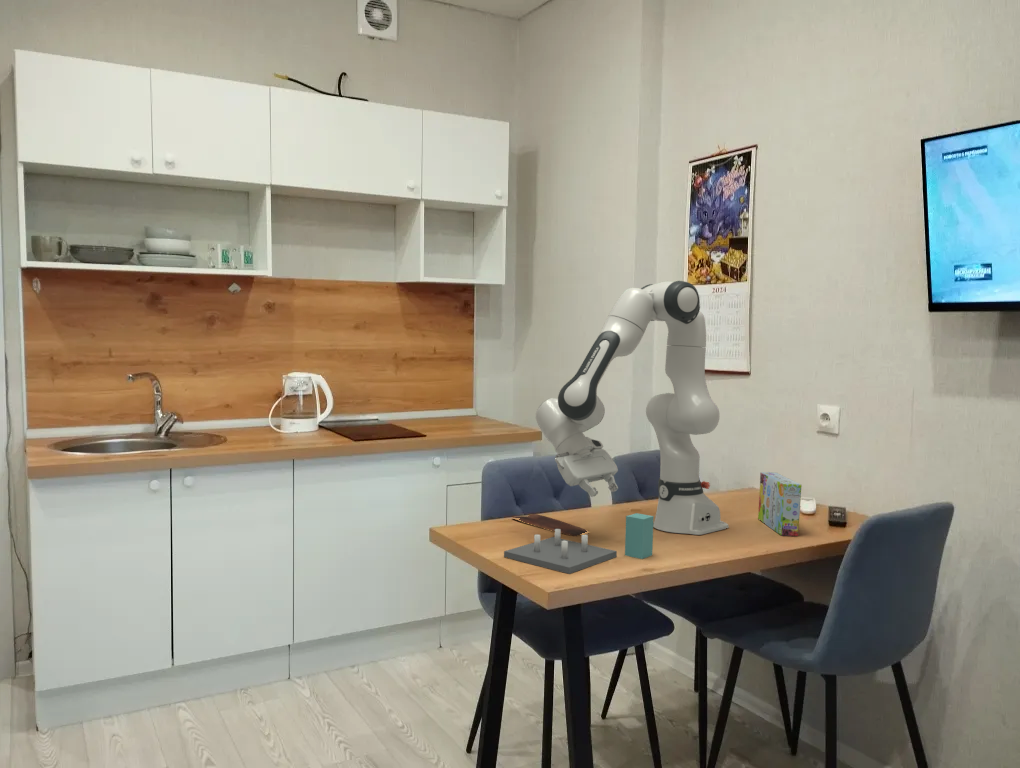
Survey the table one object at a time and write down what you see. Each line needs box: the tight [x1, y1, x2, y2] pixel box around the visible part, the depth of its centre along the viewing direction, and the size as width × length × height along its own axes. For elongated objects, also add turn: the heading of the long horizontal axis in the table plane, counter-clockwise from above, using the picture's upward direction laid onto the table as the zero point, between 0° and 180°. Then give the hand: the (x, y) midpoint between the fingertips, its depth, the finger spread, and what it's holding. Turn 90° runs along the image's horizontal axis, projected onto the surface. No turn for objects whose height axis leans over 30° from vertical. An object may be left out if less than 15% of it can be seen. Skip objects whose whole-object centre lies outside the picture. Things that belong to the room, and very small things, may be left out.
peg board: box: [503, 529, 618, 575], centre depth 196 cm, size 20×20×6 cm
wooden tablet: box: [512, 513, 587, 537], centre depth 229 cm, size 26×2×10 cm
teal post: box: [624, 512, 655, 560], centre depth 199 cm, size 5×5×10 cm
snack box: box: [757, 471, 802, 537], centre depth 232 cm, size 21×6×15 cm, turn 0°
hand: (605, 492), depth 205 cm, fingers open, 8 cm apart
